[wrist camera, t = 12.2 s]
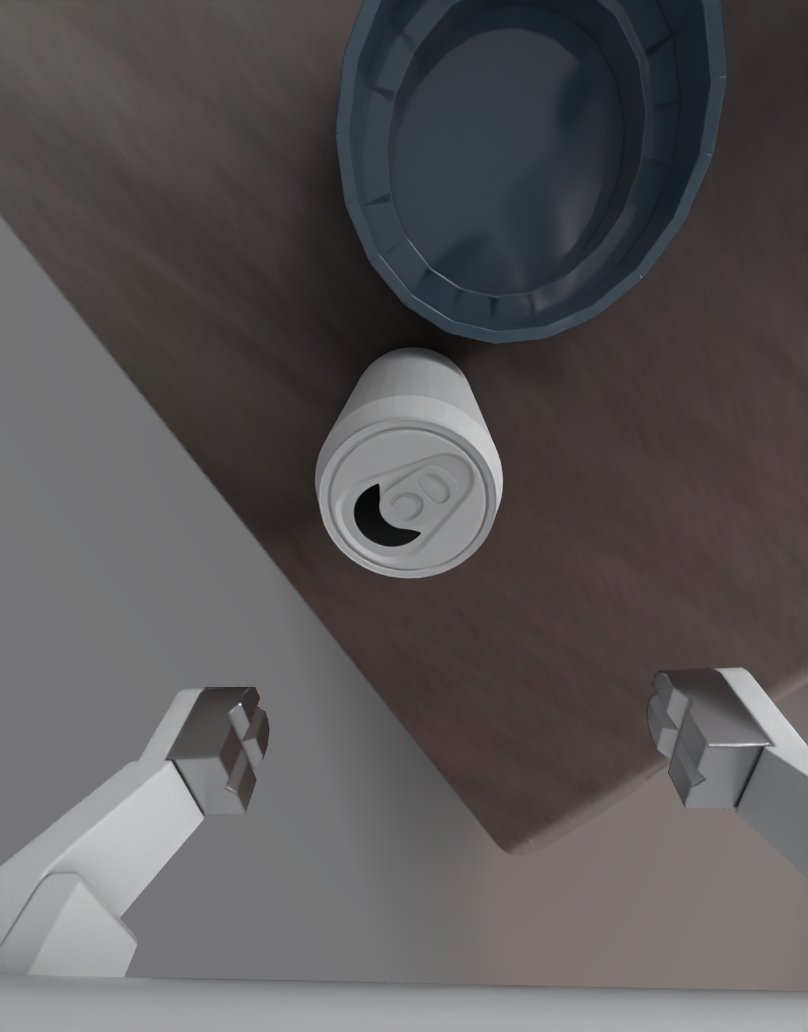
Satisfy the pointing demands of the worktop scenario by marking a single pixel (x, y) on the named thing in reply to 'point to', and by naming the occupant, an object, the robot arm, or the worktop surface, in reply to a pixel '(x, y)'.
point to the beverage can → (409, 468)
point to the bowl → (524, 151)
